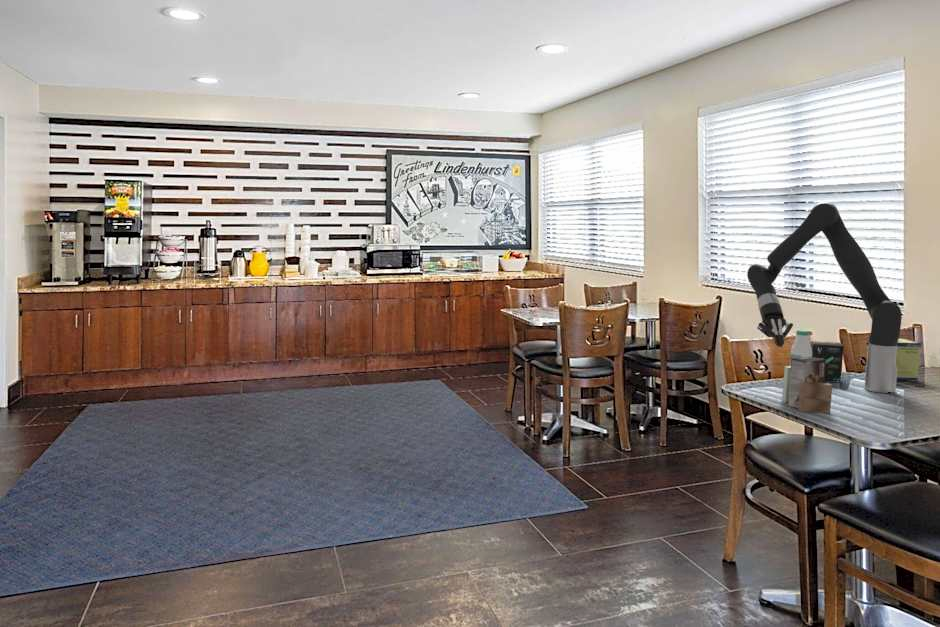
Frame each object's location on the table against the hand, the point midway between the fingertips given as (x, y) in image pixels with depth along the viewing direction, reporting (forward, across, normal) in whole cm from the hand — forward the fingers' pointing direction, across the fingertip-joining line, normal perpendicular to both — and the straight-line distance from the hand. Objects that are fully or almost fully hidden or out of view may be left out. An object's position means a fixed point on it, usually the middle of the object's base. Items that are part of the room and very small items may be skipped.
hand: (780, 345), depth 260 cm
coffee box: (+28, 0, -4) cm, 29 cm away
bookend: (+24, 0, 0) cm, 24 cm away
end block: (+33, 0, -9) cm, 34 cm away
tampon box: (-5, +27, +29) cm, 40 cm away
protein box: (-9, +56, +34) cm, 66 cm away
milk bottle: (-1, +15, +25) cm, 29 cm away
